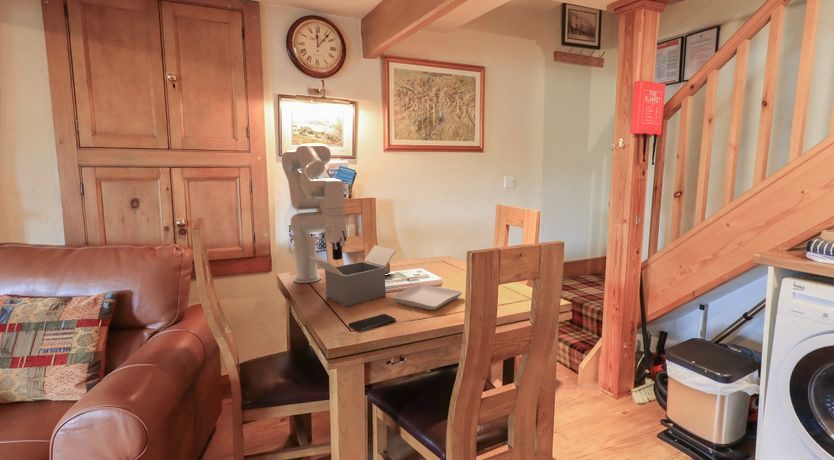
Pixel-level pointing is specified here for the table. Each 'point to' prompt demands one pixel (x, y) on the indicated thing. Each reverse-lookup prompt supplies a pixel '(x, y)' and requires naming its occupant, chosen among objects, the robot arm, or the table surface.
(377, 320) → the phone
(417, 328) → the table surface
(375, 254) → the flap
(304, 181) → the robot arm
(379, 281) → the carton
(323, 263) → the flap
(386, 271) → the ceramic mug
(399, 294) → the salad plate
